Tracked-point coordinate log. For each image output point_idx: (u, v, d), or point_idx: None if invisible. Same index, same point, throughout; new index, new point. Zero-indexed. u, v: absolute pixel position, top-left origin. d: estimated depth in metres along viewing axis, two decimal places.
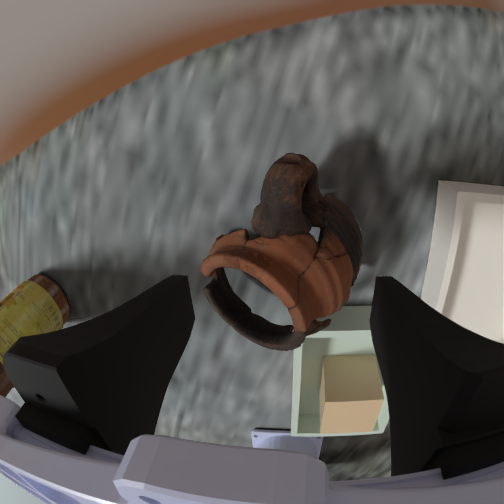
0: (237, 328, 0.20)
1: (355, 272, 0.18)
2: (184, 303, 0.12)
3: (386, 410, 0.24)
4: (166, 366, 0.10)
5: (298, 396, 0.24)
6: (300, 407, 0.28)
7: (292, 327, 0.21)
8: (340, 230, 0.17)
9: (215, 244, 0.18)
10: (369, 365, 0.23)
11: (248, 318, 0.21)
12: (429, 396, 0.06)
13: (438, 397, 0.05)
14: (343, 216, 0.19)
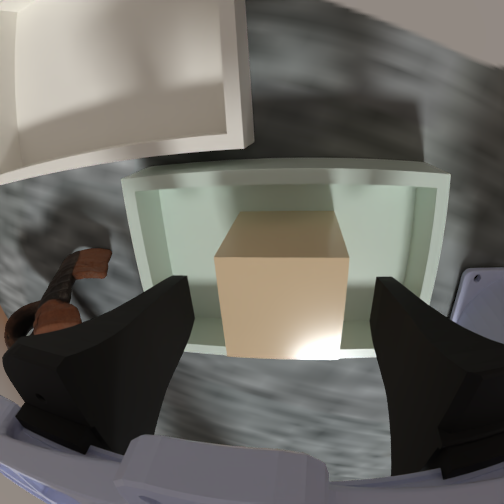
0: None
1: (59, 293, 0.15)
2: (184, 303, 0.12)
3: (360, 184, 0.11)
4: (166, 366, 0.10)
5: None
6: None
7: None
8: (42, 298, 0.16)
9: None
10: None
11: None
12: (429, 396, 0.06)
13: (438, 397, 0.05)
14: (52, 280, 0.17)
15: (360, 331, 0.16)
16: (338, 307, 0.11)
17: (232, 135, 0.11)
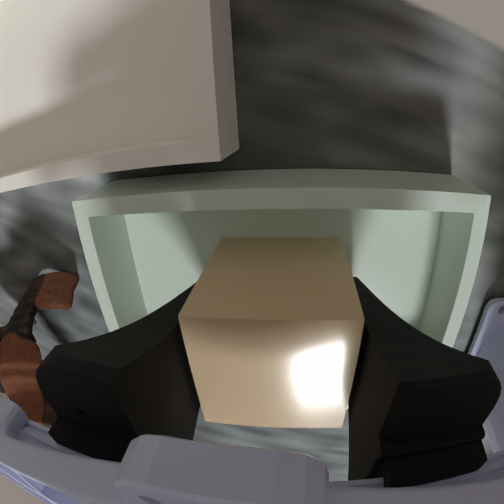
0: None
1: (19, 327, 0.12)
2: None
3: (378, 209, 0.08)
4: None
5: None
6: None
7: None
8: (6, 327, 0.13)
9: None
10: None
11: None
12: (374, 402, 0.06)
13: (380, 404, 0.05)
14: None
15: None
16: (345, 376, 0.08)
17: (204, 143, 0.08)
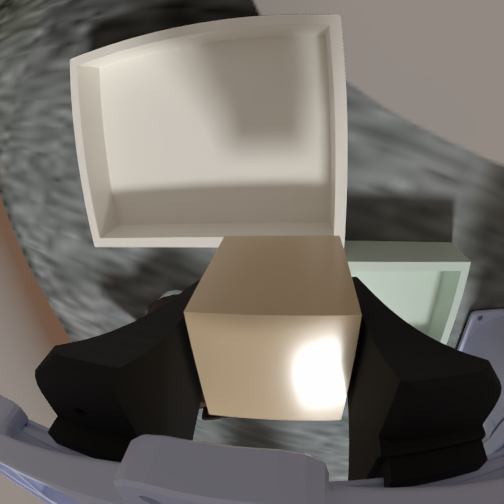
0: None
1: None
2: None
3: (414, 270, 0.16)
4: None
5: None
6: None
7: None
8: None
9: None
10: None
11: None
12: (374, 402, 0.06)
13: (380, 404, 0.05)
14: None
15: None
16: (343, 370, 0.08)
17: None
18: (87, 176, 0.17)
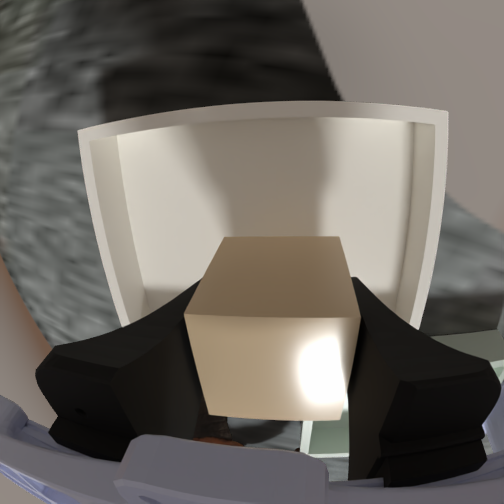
0: None
1: (220, 433, 0.17)
2: None
3: None
4: None
5: None
6: None
7: (296, 450, 0.19)
8: None
9: None
10: None
11: None
12: (374, 402, 0.06)
13: (380, 404, 0.05)
14: None
15: None
16: (343, 371, 0.08)
17: None
18: (117, 284, 0.15)
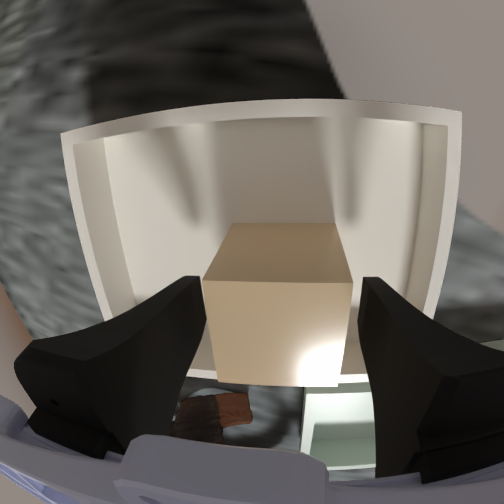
0: None
1: None
2: (197, 304, 0.12)
3: None
4: (180, 368, 0.10)
5: None
6: None
7: None
8: None
9: None
10: None
11: None
12: (409, 399, 0.06)
13: (417, 400, 0.05)
14: (184, 418, 0.19)
15: None
16: (339, 334, 0.10)
17: None
18: (105, 296, 0.14)
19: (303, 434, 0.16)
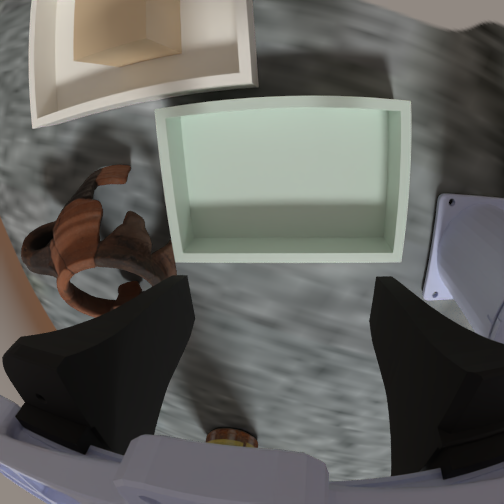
0: None
1: (83, 193, 0.17)
2: (184, 303, 0.12)
3: (339, 107, 0.14)
4: (166, 366, 0.10)
5: (292, 254, 0.18)
6: (365, 234, 0.19)
7: (170, 241, 0.19)
8: None
9: None
10: None
11: None
12: (429, 396, 0.06)
13: (438, 397, 0.05)
14: None
15: (351, 243, 0.19)
16: None
17: (243, 73, 0.14)
18: (33, 65, 0.15)
19: (163, 178, 0.17)
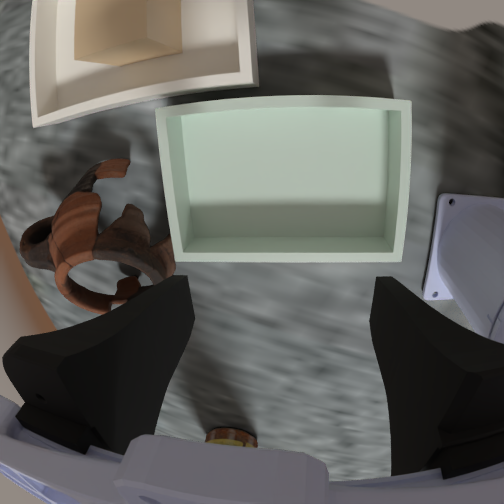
0: None
1: (82, 186, 0.17)
2: (184, 303, 0.12)
3: (340, 106, 0.14)
4: (166, 366, 0.10)
5: (292, 254, 0.18)
6: (366, 234, 0.19)
7: (169, 234, 0.19)
8: None
9: None
10: None
11: None
12: (429, 396, 0.06)
13: (438, 397, 0.05)
14: None
15: (351, 242, 0.19)
16: None
17: (244, 73, 0.14)
18: (34, 64, 0.15)
19: (163, 177, 0.17)
